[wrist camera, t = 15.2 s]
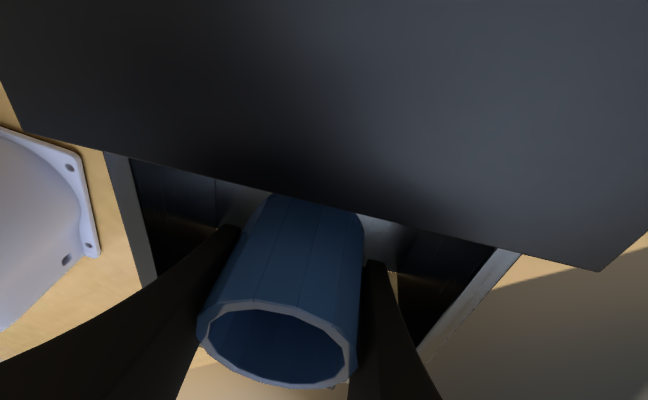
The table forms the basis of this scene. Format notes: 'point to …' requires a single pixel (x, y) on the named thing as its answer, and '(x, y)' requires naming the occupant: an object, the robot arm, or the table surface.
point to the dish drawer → (381, 236)
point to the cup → (289, 297)
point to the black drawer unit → (364, 106)
